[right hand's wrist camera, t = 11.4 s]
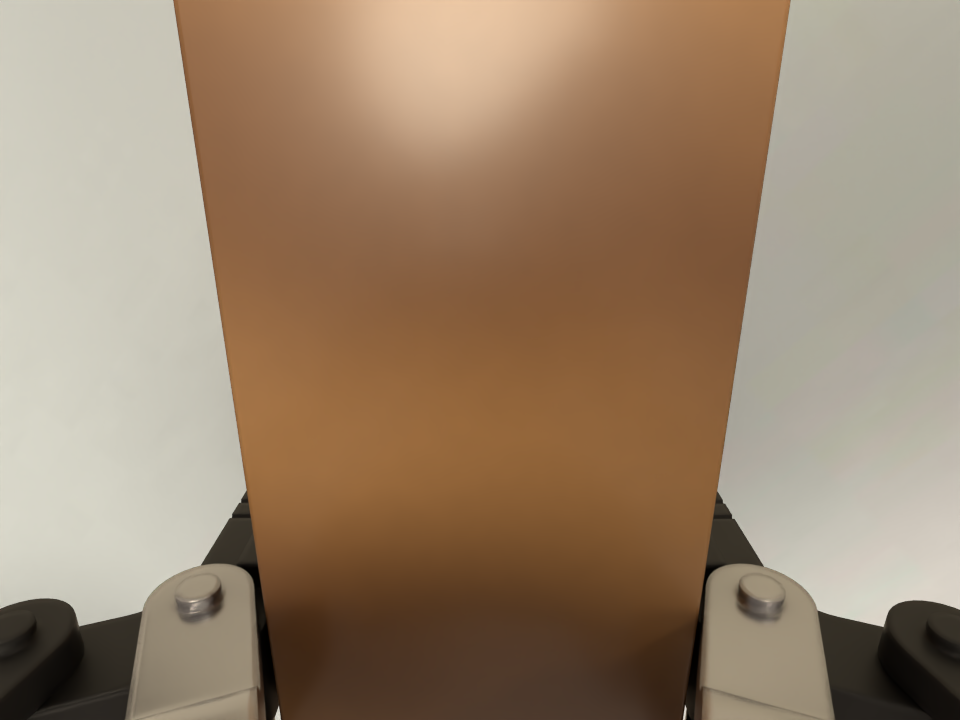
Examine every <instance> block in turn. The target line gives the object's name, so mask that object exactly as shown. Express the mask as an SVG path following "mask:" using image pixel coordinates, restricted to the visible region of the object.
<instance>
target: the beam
mask: <svg viewBox="0 0 960 720" xmlns="http://www.w3.org/2000/svg"><path fill="white" fill-rule="evenodd" d="M173 1H174V8H175V14H176V21H177V28H178V34H179V41H180V48H181V54H182V61H183V68H184V74H185V81H186V88H187V94H188V101H189V108H190V114H191V121H192V128H193V134H194V141H195V148H196V154H197V161H198V168H199V174H200V181H201V188H202V194H203V201H204V208H205V214H206V221H207V228H208V234H209V241H210V248H211V254H212V261H213V268H214V274H215V281H216V288H217V295H218V301H219V308H220V315H221V321H222V328H223V335H224V341H225V348H226V355H227V361H228V368H229V375H230V381H231V388H232V395H233V401H234V408H235V415H236V421H237V428H238V435H239V441H240V448H241V455H242V461H243V468H244V475H245V481H246V488H247V495H248V501H249V508H250V515H251V521H252V528H253V535H254V541H255V548H256V555H257V561H258V568H259V575H260V581H261V588H262V595H263V601H264V608H265V615H266V622H267V628H268V635H269V642H270V648H271V655H272V662H273V668H274V675H275V682H276V688H277V695H278V702H279V708H280V715H281V720H683V715H684V708H685V701H686V695H687V688H688V681H689V675H690V668H691V661H692V655H693V648H694V641H695V635H696V628H697V621H698V615H699V608H700V601H701V595H702V588H703V581H704V575H705V568H706V561H707V555H708V548H709V541H710V535H711V528H712V521H713V514H714V508H715V501H716V494H717V488H718V481H719V474H720V468H721V461H722V454H723V448H724V441H725V434H726V428H727V421H728V414H729V408H730V401H731V394H732V388H733V381H734V374H735V368H736V361H737V354H738V348H739V341H740V334H741V328H742V321H743V314H744V308H745V301H746V294H747V288H748V281H749V274H750V268H751V261H752V254H753V248H754V241H755V234H756V228H757V221H758V214H759V208H760V201H761V194H762V188H763V181H764V174H765V168H766V161H767V154H768V147H769V141H770V134H771V127H772V121H773V114H774V107H775V101H776V94H777V87H778V81H779V74H780V67H781V61H782V54H783V47H784V41H785V34H786V27H787V21H788V14H789V7H790V1H791V0H173Z"/></svg>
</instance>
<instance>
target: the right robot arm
mask: <svg viewBox="0 0 960 720" xmlns="http://www.w3.org/2000/svg"><path fill="white" fill-rule="evenodd" d="M685 705H686V708H687V710H686V716H685V720H960V610H959V609H956V608H953V607H950V606H947V605H944V604H940V603H935V602H929V601H914V600H913V601H905V602H902V603H898V604H897V605H895V606H893V607H892V608H891V609H890V610H889V612H888V615H887V618H886V621H885V625H884V627H881V626H876V625H872V624H867V623H863V622H858V621H854V620H850V619H845V618H841V617H837V616H833V615H829V614H826V613H823V612H820V611H817V607H816V604H815V602H814V600H813V599H812V597H811V596H810V595H809V593H808V592H807V591H806V590H805V589H804V588H803V587H802V586H801V585H799V584H798V583H797V582H795V581H794V580H793V579H791V578H789V577H787V576H786V575H784V574H782V573H780V572H777V571H775V570H772V569H769V568H766V567H764V566H763V564H762V563H761V561H760V559H759V558H758V556H757V555H756V553H755V551H754V550H753V548H752V546H751V545H750V543H749V542H748V540H747V538H746V537H745V535H744V534H743V532H742V530H741V529H740V527H739V526H738V524H737V522H736V521H735V519H732V514H731V513H730V511H729V509H728V508H727V506H726V505H725V504H723V500H722V498H721V497H720V495H719V493H718V492H717V494H716V501H715V508H714V514H713V521H712V528H711V535H710V541H709V548H708V555H707V561H706V568H705V575H704V581H703V588H702V595H701V601H700V608H699V615H698V621H697V628H696V635H695V641H694V648H693V655H692V661H691V668H690V675H689V681H688V688H687V695H686V701H685ZM278 706H279V702H278V695H277V688H276V682H275V675H274V668H273V662H272V655H271V648H270V642H269V635H268V628H267V622H266V615H265V608H264V601H263V595H262V588H261V581H260V575H259V568H258V561H257V555H256V548H255V541H254V535H253V528H252V521H251V515H250V508H249V501H248V495H247V491H246V493H245V494H244V496H243V498H242V499H241V503H239V504H238V506H237V507H236V509H235V511H234V512H233V514H232V518H230V519H229V520H228V522H227V524H226V525H225V527H224V529H223V530H222V532H221V533H220V535H219V537H218V538H217V540H216V542H215V543H214V545H213V546H212V548H211V550H210V551H209V553H208V555H207V556H206V558H205V560H204V561H203V563H202V564H201V566H198V567H194V568H191V569H188V570H185V571H183V572H181V573H178V574H176V575H174V576H173V577H171V578H169V579H167V580H166V581H165V582H163V583H162V584H161V585H159V586H158V587H157V588H156V589H155V590H154V591H153V592H152V593H151V595H150V596H149V597H148V599H147V600H146V602H145V604H144V608H143V611H142V612H139V613H135V614H132V615H128V616H124V617H119V618H115V619H110V620H106V621H101V622H97V623H93V624H88V625H84V626H79V625H78V621H77V618H76V614H75V612H74V609H73V608H72V607H71V606H70V605H69V604H68V603H66V602H64V601H61V600H57V599H34V600H28V601H23V602H19V603H16V604H12V605H9V606H6V607H4V608H1V609H0V720H275V715H276V712H277V709H278Z"/></svg>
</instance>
